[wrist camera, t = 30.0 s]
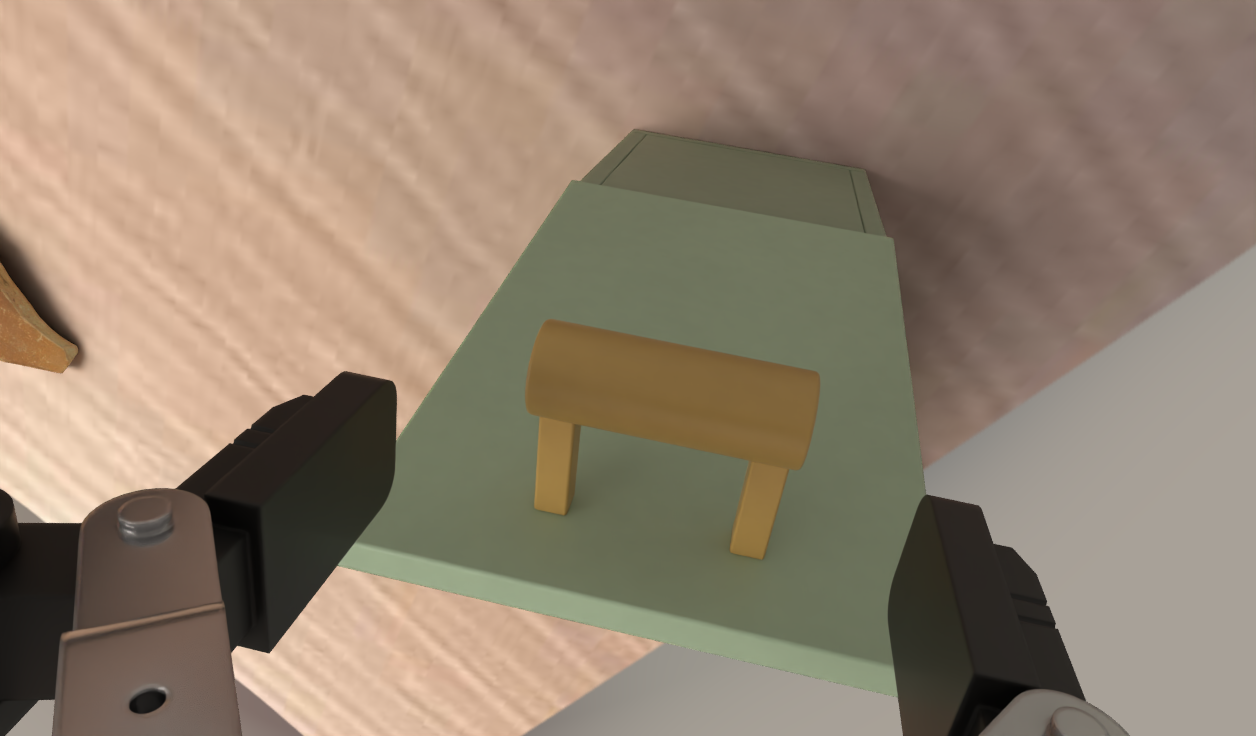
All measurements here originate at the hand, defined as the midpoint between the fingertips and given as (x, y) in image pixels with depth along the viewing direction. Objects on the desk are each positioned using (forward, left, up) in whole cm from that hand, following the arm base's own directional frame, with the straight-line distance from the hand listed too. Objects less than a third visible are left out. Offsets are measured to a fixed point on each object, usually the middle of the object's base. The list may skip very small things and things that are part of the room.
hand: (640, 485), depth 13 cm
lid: (0, -3, -11) cm, 11 cm away
